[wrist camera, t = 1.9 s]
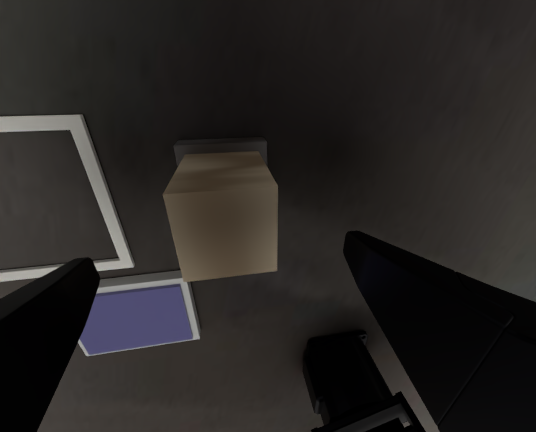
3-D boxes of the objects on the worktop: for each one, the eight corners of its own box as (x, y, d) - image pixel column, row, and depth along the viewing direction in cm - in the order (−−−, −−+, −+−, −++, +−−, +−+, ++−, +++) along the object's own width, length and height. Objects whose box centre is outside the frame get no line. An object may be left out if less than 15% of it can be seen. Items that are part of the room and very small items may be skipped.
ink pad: (187, 269, 18) (185, 280, 17) (200, 329, 22) (199, 341, 20) (56, 284, 17) (45, 297, 16) (91, 345, 20) (84, 359, 19)
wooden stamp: (263, 136, 15) (292, 172, 9) (264, 209, 17) (287, 278, 11) (177, 140, 14) (143, 181, 8) (191, 215, 16) (173, 292, 10)
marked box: (82, 114, 12) (79, 114, 12) (135, 264, 17) (133, 267, 17) (-154, 120, 11) (-163, 120, 11) (-26, 281, 16) (-30, 284, 16)
